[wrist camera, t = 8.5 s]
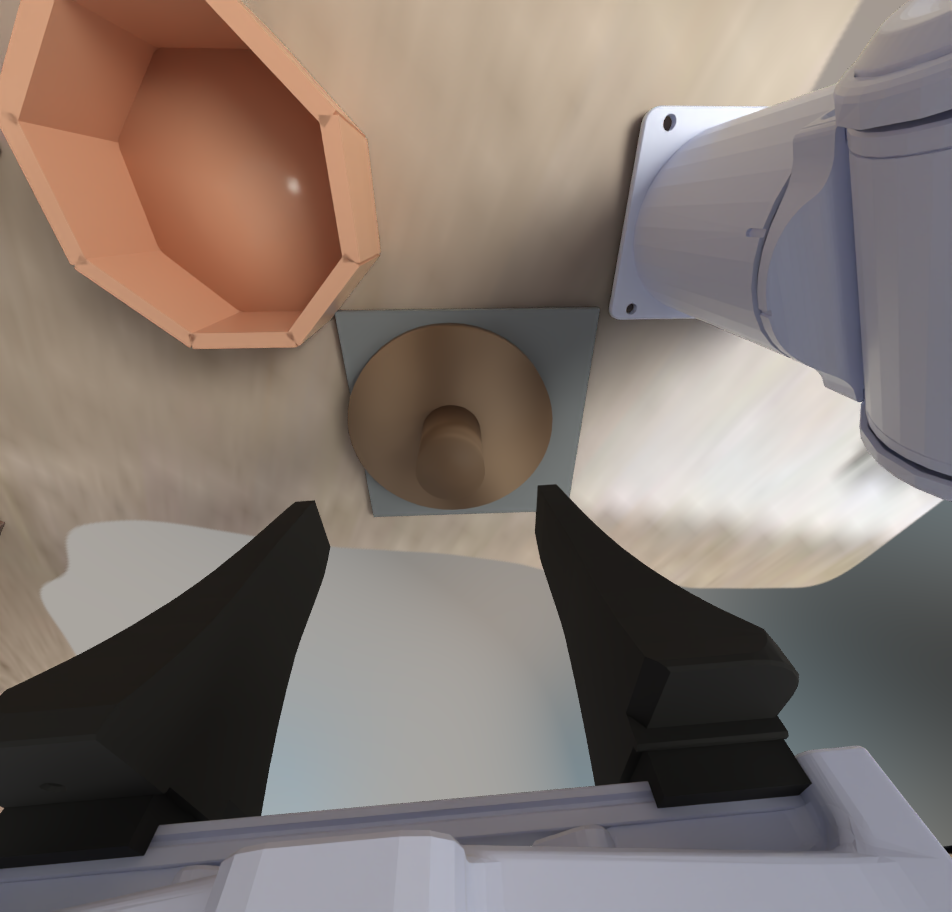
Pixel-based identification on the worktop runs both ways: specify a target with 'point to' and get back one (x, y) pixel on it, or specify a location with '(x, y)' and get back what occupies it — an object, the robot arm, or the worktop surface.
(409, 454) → the lid
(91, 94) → the bowl
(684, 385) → the worktop surface
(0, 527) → the tissue box cover
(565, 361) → the mat
